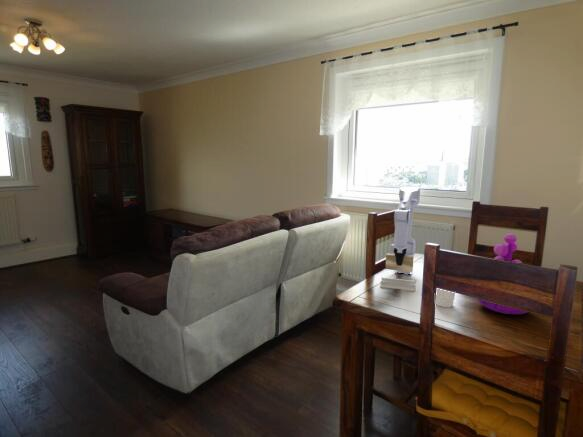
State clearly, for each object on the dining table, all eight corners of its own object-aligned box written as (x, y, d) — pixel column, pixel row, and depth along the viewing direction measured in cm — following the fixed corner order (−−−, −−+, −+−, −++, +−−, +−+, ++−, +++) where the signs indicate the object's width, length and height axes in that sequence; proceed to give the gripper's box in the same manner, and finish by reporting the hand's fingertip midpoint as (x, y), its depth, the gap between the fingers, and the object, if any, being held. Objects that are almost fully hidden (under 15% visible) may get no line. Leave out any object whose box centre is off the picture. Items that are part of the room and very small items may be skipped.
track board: (381, 281, 161) (381, 276, 160) (415, 285, 156) (415, 280, 155) (380, 286, 154) (380, 281, 154) (415, 291, 149) (415, 285, 149)
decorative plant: (503, 323, 119) (513, 240, 114) (464, 302, 137) (471, 230, 132) (544, 317, 124) (555, 237, 119) (501, 298, 142) (509, 227, 137)
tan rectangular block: (385, 267, 161) (386, 253, 160) (412, 270, 157) (413, 255, 156) (385, 269, 159) (386, 254, 158) (412, 271, 155) (413, 257, 154)
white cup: (458, 308, 132) (460, 283, 130) (437, 308, 132) (439, 283, 130) (449, 300, 139) (451, 277, 138) (429, 300, 140) (431, 276, 138)
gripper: (392, 232, 164) (391, 259, 166) (391, 238, 150) (389, 267, 152) (408, 233, 161) (406, 261, 164) (407, 239, 148) (405, 269, 150)
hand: (399, 264), depth 158 cm, fingers closed on tan rectangular block, 2 cm apart
